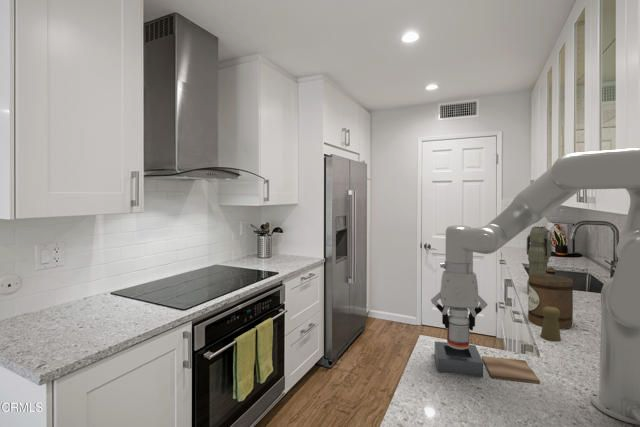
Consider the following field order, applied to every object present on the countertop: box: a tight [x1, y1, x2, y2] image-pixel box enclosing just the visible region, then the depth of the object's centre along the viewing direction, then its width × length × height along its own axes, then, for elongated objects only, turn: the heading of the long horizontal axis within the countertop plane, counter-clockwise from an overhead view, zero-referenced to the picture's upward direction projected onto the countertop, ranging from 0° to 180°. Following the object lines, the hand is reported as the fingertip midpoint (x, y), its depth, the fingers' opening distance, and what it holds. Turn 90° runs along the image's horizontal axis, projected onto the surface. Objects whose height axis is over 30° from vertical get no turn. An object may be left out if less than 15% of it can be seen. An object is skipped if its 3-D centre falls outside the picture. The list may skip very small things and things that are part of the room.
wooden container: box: [527, 267, 574, 330], centre depth 138 cm, size 15×15×22 cm
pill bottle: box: [446, 307, 470, 350], centre depth 102 cm, size 6×6×11 cm
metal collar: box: [434, 341, 484, 378], centre depth 103 cm, size 12×12×4 cm
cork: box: [540, 307, 562, 342], centre depth 122 cm, size 6×6×11 cm
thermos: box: [526, 226, 552, 296], centre depth 176 cm, size 9×12×35 cm
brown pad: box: [481, 355, 541, 384], centre depth 100 cm, size 12×12×1 cm
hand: (458, 327), depth 102 cm, fingers closed on pill bottle, 6 cm apart
